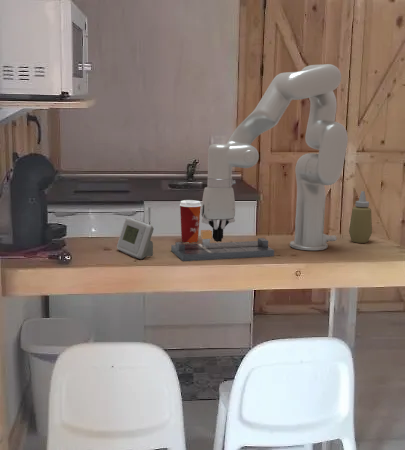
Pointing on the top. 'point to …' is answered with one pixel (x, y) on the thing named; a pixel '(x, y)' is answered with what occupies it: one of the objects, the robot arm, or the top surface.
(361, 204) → the squeeze bottle
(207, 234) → the fader tab
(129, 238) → the digital clock
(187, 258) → the grey slider board
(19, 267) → the top surface
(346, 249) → the top surface
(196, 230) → the paper cup
